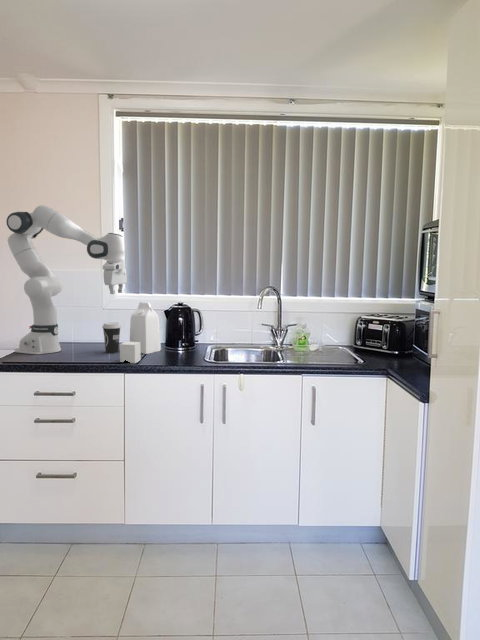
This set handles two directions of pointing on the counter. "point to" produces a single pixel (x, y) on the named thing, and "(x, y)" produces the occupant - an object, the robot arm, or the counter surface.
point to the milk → (145, 328)
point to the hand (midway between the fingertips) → (116, 293)
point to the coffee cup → (111, 336)
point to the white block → (130, 352)
